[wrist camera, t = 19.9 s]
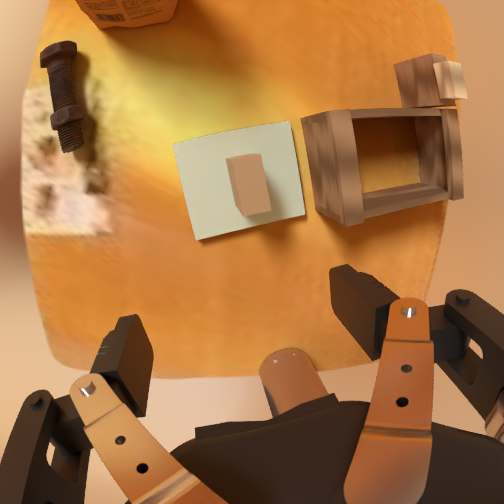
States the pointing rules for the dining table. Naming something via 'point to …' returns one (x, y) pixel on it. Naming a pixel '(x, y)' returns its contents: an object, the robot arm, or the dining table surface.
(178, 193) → the dining table surface
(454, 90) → the tan wooden block
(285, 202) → the lid
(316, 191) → the wooden box frame
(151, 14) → the coffee package
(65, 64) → the bolt
